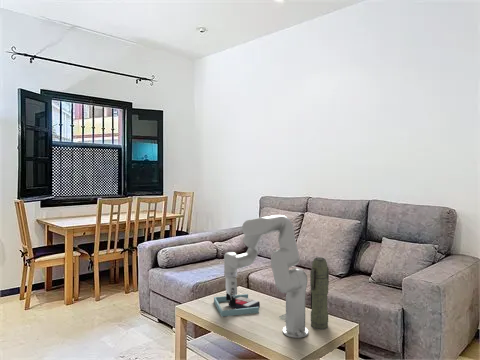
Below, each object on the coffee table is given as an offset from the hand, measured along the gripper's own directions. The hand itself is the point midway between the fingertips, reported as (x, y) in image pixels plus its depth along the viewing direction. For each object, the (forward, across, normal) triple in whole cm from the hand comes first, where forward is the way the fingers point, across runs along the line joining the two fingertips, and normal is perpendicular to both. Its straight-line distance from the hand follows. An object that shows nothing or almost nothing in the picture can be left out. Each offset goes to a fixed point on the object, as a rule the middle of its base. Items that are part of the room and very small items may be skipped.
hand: (230, 302), depth 218 cm
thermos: (+3, -36, -38) cm, 53 cm away
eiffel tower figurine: (+4, -22, -29) cm, 36 cm away
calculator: (+3, -1, -8) cm, 9 cm away
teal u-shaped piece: (+3, 0, -3) cm, 4 cm away
